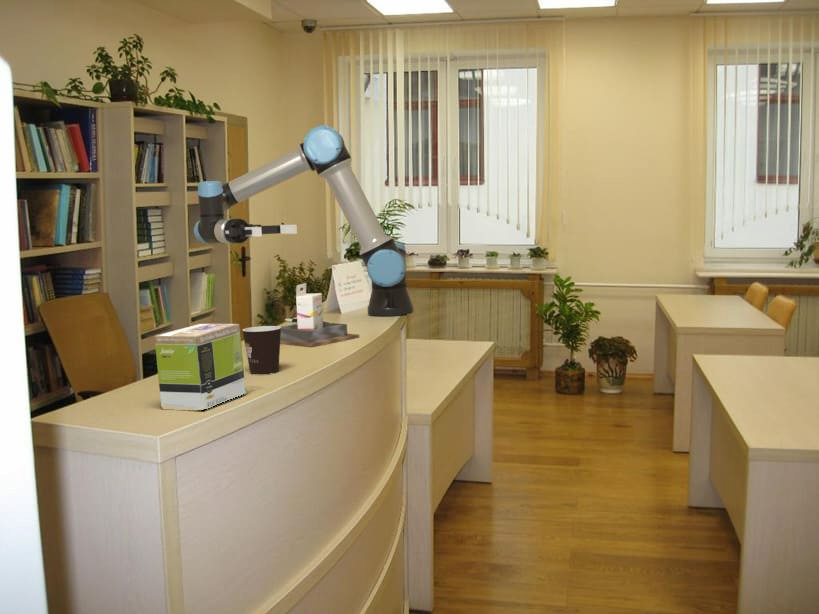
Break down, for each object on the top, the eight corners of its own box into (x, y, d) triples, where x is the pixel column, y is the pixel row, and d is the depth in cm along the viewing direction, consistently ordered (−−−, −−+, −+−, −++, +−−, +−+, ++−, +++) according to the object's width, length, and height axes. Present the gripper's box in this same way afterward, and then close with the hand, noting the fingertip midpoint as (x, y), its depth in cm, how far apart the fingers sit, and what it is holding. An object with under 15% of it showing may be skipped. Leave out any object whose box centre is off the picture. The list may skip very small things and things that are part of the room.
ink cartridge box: (315, 339, 253) (312, 285, 251) (297, 339, 254) (294, 285, 252) (324, 334, 262) (321, 282, 260) (307, 334, 263) (304, 282, 261)
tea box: (205, 393, 191) (200, 322, 189) (247, 395, 187) (242, 322, 185) (159, 410, 177) (153, 333, 175) (203, 412, 173) (197, 334, 171)
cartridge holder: (309, 332, 271) (309, 320, 270) (359, 337, 258) (358, 323, 257) (262, 341, 257) (261, 328, 257) (312, 347, 244) (311, 332, 244)
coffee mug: (284, 374, 208) (281, 330, 207) (245, 377, 207) (242, 332, 205) (282, 365, 219) (280, 323, 218) (245, 368, 218) (242, 325, 217)
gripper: (264, 240, 295) (310, 240, 281) (200, 246, 277) (245, 246, 263) (263, 216, 294) (309, 215, 280) (198, 220, 276) (244, 219, 262)
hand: (278, 230), depth 272 cm, fingers open, 13 cm apart
